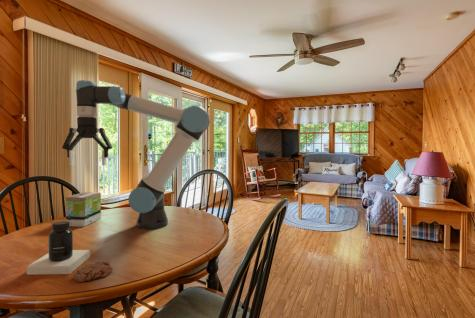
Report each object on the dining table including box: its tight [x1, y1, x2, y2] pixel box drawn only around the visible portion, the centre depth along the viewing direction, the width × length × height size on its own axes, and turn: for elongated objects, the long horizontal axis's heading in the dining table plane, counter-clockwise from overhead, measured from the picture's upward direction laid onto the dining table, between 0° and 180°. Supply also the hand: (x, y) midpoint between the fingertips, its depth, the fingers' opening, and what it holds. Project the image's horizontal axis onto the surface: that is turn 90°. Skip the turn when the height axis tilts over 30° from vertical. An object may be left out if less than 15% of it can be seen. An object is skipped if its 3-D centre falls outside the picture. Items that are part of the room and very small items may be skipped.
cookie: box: [73, 261, 113, 283], centre depth 85 cm, size 10×11×3 cm
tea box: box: [65, 191, 102, 227], centre depth 139 cm, size 15×10×15 cm
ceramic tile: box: [26, 249, 91, 276], centre depth 91 cm, size 13×13×2 cm
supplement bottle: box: [48, 220, 74, 261], centre depth 90 cm, size 7×7×12 cm
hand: (88, 165), depth 120 cm, fingers open, 13 cm apart
